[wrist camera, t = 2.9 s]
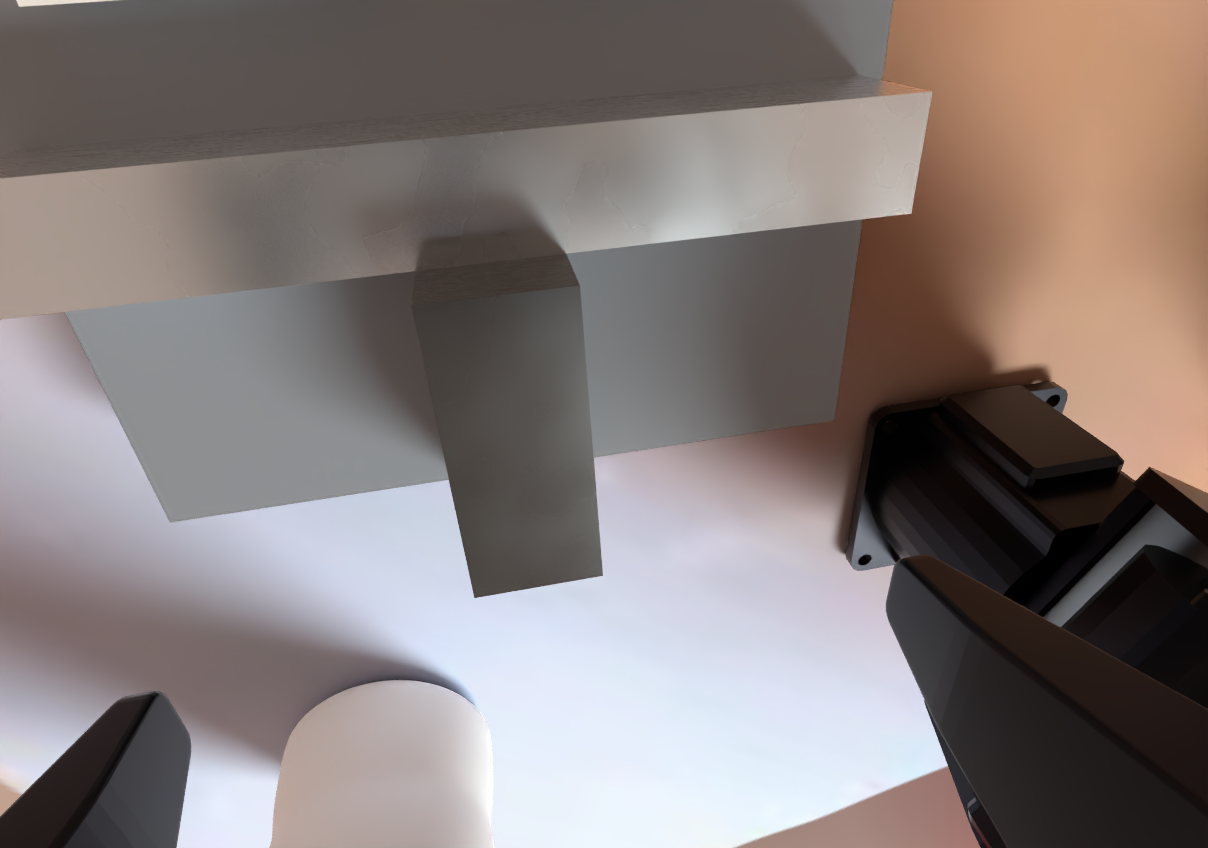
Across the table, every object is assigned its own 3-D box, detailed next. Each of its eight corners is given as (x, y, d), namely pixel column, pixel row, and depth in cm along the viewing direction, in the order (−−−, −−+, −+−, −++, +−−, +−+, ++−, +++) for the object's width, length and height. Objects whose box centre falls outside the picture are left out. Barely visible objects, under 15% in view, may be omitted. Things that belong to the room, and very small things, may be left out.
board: (787, 367, 21) (834, 420, 18) (207, 449, 19) (170, 522, 16) (865, -471, 12) (975, -589, 10) (-197, -485, 10) (-412, -640, 8)
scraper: (816, 423, 18) (898, 523, 15) (193, 518, 16) (126, 658, 13) (859, 74, 14) (991, 104, 10) (18, 149, 12) (-151, 215, 9)
